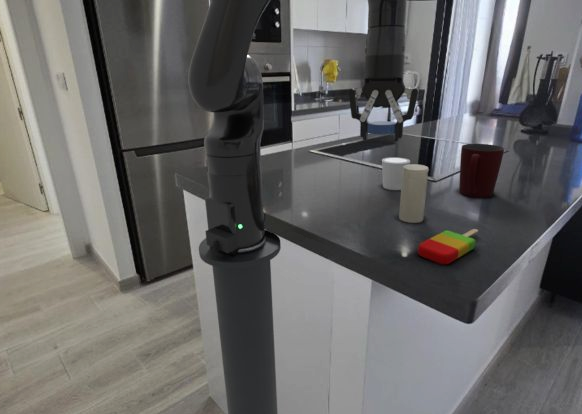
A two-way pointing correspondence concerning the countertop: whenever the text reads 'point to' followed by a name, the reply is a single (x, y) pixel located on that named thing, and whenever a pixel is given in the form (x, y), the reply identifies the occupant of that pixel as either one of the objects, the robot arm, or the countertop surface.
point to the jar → (413, 193)
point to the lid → (381, 127)
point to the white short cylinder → (393, 172)
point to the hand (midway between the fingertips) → (380, 139)
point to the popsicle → (447, 246)
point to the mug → (479, 169)
